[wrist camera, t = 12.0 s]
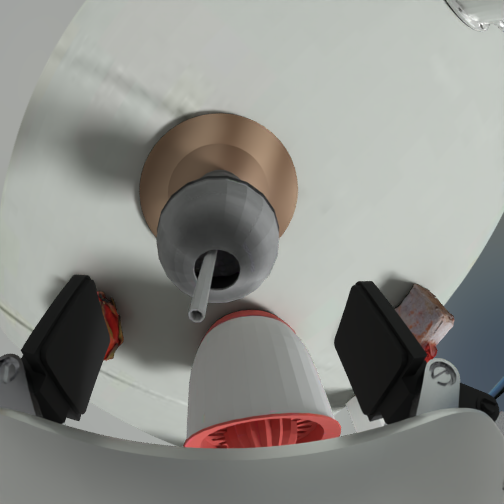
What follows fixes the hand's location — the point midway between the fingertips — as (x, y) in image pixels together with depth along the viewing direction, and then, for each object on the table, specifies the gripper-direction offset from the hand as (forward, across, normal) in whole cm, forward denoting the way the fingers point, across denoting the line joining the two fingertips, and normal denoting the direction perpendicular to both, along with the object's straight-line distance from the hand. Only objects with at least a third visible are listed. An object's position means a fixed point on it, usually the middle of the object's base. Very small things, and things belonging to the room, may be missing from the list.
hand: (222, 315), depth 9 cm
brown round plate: (+20, +1, +1) cm, 20 cm away
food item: (+20, -28, +19) cm, 39 cm away
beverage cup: (+19, 0, 0) cm, 19 cm away
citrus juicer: (+20, -3, +22) cm, 30 cm away
